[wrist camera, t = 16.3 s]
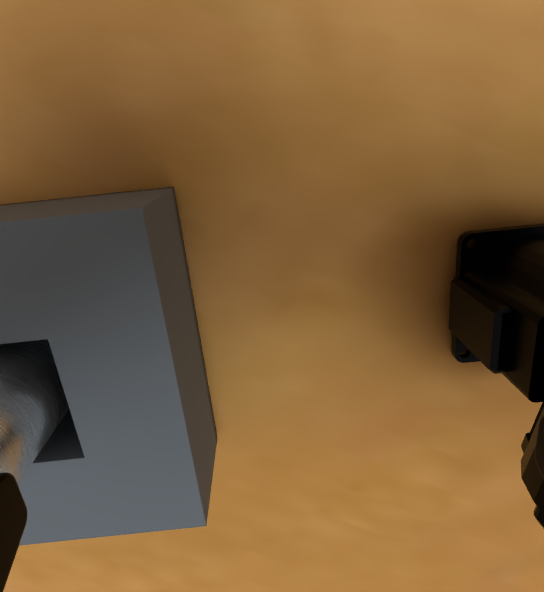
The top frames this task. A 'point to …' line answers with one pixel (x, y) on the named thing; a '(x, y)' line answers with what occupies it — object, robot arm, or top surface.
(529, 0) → the top surface
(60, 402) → the aluminium peg
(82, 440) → the slate socket block
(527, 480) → the robot arm
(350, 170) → the top surface
